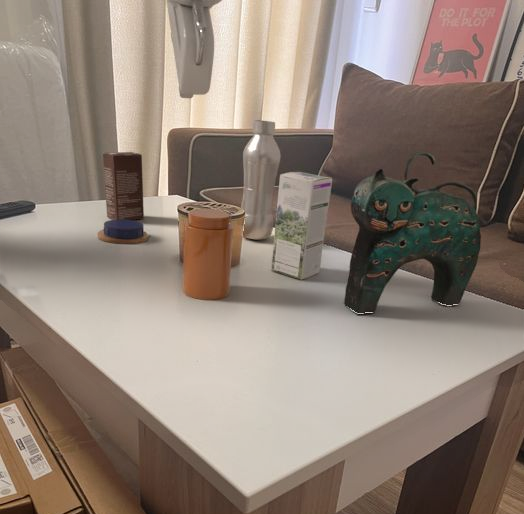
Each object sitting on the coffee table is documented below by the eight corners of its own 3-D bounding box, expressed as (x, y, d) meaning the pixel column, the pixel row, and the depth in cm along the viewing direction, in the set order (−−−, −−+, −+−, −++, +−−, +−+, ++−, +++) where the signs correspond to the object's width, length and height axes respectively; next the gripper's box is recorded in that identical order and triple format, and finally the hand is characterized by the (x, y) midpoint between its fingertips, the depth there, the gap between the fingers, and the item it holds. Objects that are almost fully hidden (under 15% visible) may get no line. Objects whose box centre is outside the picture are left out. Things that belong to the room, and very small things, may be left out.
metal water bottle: (244, 231, 101) (253, 118, 92) (277, 238, 99) (289, 123, 90) (230, 238, 95) (238, 119, 86) (265, 245, 93) (276, 124, 84)
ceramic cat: (349, 319, 66) (379, 151, 57) (325, 300, 71) (349, 143, 62) (471, 309, 73) (515, 159, 64) (441, 293, 78) (478, 151, 70)
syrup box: (320, 273, 82) (334, 176, 75) (300, 281, 77) (313, 179, 71) (290, 264, 85) (301, 170, 78) (269, 271, 80) (278, 172, 74)
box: (132, 214, 105) (131, 151, 100) (144, 219, 102) (143, 154, 97) (104, 217, 101) (101, 151, 96) (116, 222, 98) (113, 154, 93)
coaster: (104, 245, 85) (104, 241, 85) (92, 231, 91) (92, 228, 91) (154, 242, 89) (154, 239, 88) (139, 229, 95) (139, 226, 95)
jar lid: (150, 237, 89) (150, 227, 89) (114, 240, 85) (114, 230, 85) (132, 227, 94) (132, 218, 93) (97, 230, 90) (97, 221, 89)
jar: (194, 302, 66) (197, 220, 62) (175, 285, 71) (176, 208, 66) (237, 296, 69) (243, 218, 65) (216, 281, 74) (220, 207, 69)
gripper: (232, 37, 57) (214, 129, 69) (207, -92, 63) (195, 14, 76) (174, 32, 55) (166, 127, 68) (154, -100, 61) (150, 10, 74)
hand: (181, 66), depth 72 cm, fingers open, 8 cm apart
